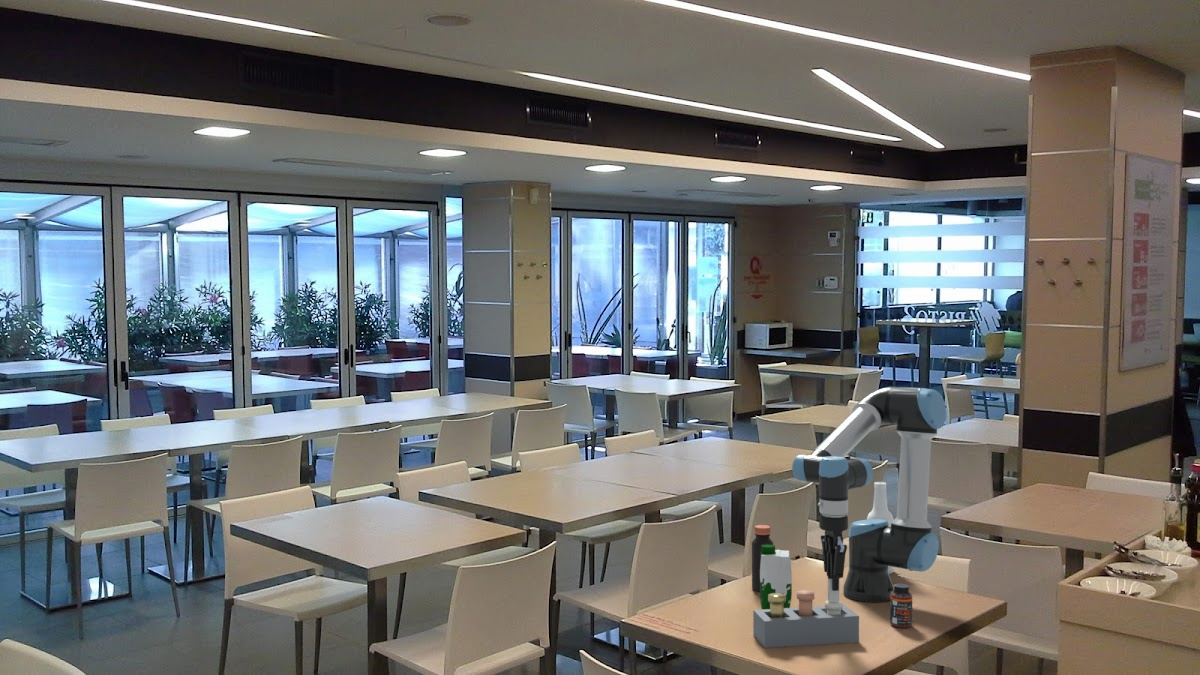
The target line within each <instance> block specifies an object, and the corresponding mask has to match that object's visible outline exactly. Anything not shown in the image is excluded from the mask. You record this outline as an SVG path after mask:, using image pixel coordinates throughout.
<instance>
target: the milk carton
mask: <svg viewBox="0 0 1200 675" xmlns="http://www.w3.org/2000/svg"><path fill="white" fill-rule="evenodd" d="M792 574H793V573H792V562H791V555H790V550H782V549H776V545H775V544H773V545H772V544H763V545H761V564H760V592H759V594H760V597H759V598H760V605H761V606H760V607H761V610H763V609H770V602H769V601H768V595H769V594H771V593H781V594H784V595H785V596H786V602H785V603H784V608H791V603H792V595H793V594H792V593H793V590H792V588H793V586H792V585H793V581H792V580H793V579H792V578H793V577H792V576H793V575H792Z"/></svg>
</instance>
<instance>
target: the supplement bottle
mask: <svg viewBox="0 0 1200 675" xmlns="http://www.w3.org/2000/svg"><path fill="white" fill-rule="evenodd" d="M893 588H894V591H893V592H892V593H891V595H890V600H889V623H890V625H891V626H892V627H895V628H900V629H907V628H908V629H909V628H911V627H912V625H913V595H912V593H911V592H910V586H909V585H908V584H906V583H895V584H893Z"/></svg>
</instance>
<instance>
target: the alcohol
mask: <svg viewBox="0 0 1200 675" xmlns="http://www.w3.org/2000/svg"><path fill="white" fill-rule="evenodd" d="M873 484H874V486H873V487H874V492H873V505H872V510H871V511H870V512H869V513H868V515H867V516H866V520H869V519H883V520H887V521H888V524H889V525H888V527H891V522H892V521H893V520H894V519H895V518H894V516H893V514H892V513H891V512H890V511H889V507H888V496H887V495H888V494H887V483H886V482H885V481H874V483H873ZM894 570H895V567H892V566H888V573H889V575H891V574H893V573H894Z"/></svg>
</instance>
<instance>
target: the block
mask: <svg viewBox="0 0 1200 675" xmlns="http://www.w3.org/2000/svg"><path fill="white" fill-rule="evenodd" d="M752 615H753V622H752V623H753V625H752V626H753V627H752V628H753V631H752V632H753V634H752V635H753V637H754V638H755V637H756V638H757V639H756V638H755V639H756V640H757V641H758V642H759V643H760V644H761V645H762V647H763V648H765V649H769V647H770V648H782V647H783V648H785V647H784V646H786V647H800V646H801V647H803V646H814V645H815V646H816V645H817V646H818V645H832V644H833V645H834V644H846V643H847V644H848V643H849V644H850V643H859V642H860V615H858V614H857V613H856V612H855V611H853V610H852V609H851V608H849V607H848V606H847V605H845V604H843V609H841V614H836V615H827V609H826V608H825V605H822V606H821V605H819V606H818V605H817V606H812V616H802V617H799V606H798V607H790V608H784V618H770V609H763V610H762V609H753V614H752Z"/></svg>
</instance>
